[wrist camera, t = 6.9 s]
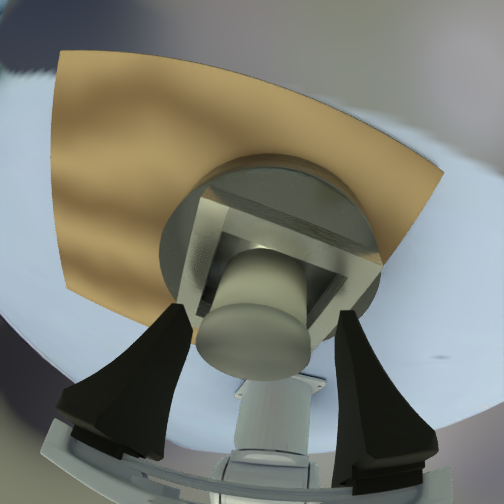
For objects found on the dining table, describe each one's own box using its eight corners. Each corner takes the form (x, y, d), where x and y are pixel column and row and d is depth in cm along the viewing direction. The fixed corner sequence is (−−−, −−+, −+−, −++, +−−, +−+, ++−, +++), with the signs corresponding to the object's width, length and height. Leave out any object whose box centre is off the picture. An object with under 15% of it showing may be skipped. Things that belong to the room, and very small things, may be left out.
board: (290, 364, 26) (289, 373, 25) (71, 282, 24) (66, 288, 23) (437, 166, 13) (444, 172, 12) (70, 50, 11) (60, 51, 10)
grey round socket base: (314, 332, 21) (314, 378, 18) (167, 282, 20) (145, 324, 17) (406, 207, 14) (433, 250, 10) (202, 122, 13) (168, 142, 10)
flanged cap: (287, 322, 16) (281, 389, 13) (210, 296, 16) (188, 361, 12) (327, 265, 13) (333, 340, 10) (234, 230, 13) (208, 300, 9)
